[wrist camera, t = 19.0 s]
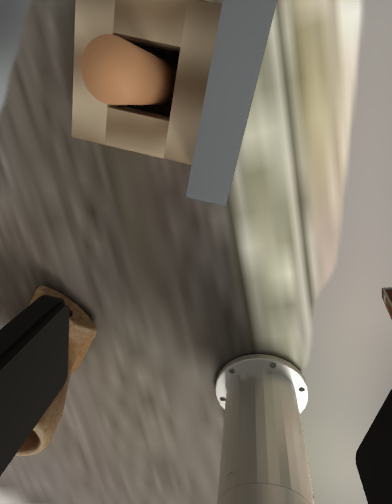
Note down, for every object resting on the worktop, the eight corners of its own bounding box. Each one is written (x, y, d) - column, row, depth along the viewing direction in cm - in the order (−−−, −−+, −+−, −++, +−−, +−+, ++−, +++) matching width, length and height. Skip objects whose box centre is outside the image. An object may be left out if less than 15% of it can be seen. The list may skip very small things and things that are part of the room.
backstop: (233, 174, 34) (225, 206, 24) (205, 168, 34) (185, 196, 24) (272, 16, 28) (286, -39, 17) (238, 9, 28) (232, -50, 18)
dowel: (174, 108, 33) (136, 110, 22) (135, 100, 33) (79, 97, 22) (181, 63, 31) (144, 41, 20) (140, 54, 31) (82, 28, 20)
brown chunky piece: (81, 385, 51) (20, 485, 38) (13, 346, 50) (-75, 436, 36) (123, 323, 45) (69, 417, 31) (47, 277, 44) (-44, 354, 30)
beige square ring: (204, 158, 34) (197, 166, 29) (94, 132, 34) (71, 137, 30) (232, 21, 29) (229, 6, 24) (102, -6, 29) (76, -26, 25)
